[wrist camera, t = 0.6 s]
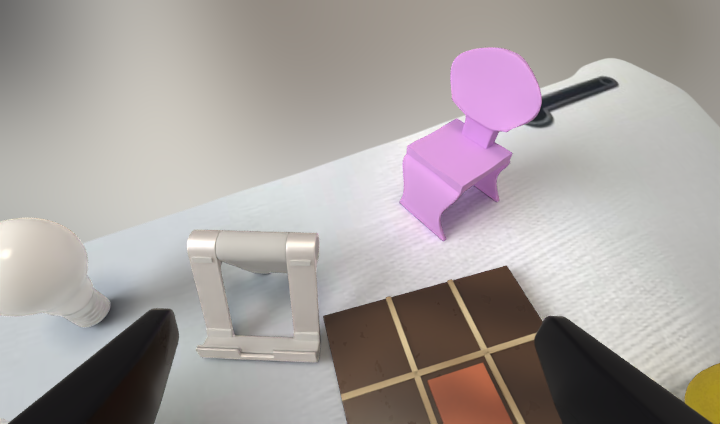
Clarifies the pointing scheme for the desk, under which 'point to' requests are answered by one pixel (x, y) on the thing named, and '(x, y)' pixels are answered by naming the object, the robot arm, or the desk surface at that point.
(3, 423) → the white cup
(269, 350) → the tablet stand
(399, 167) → the desk surface
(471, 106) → the toy chair
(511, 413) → the board
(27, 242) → the lightbulb
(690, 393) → the lemon
